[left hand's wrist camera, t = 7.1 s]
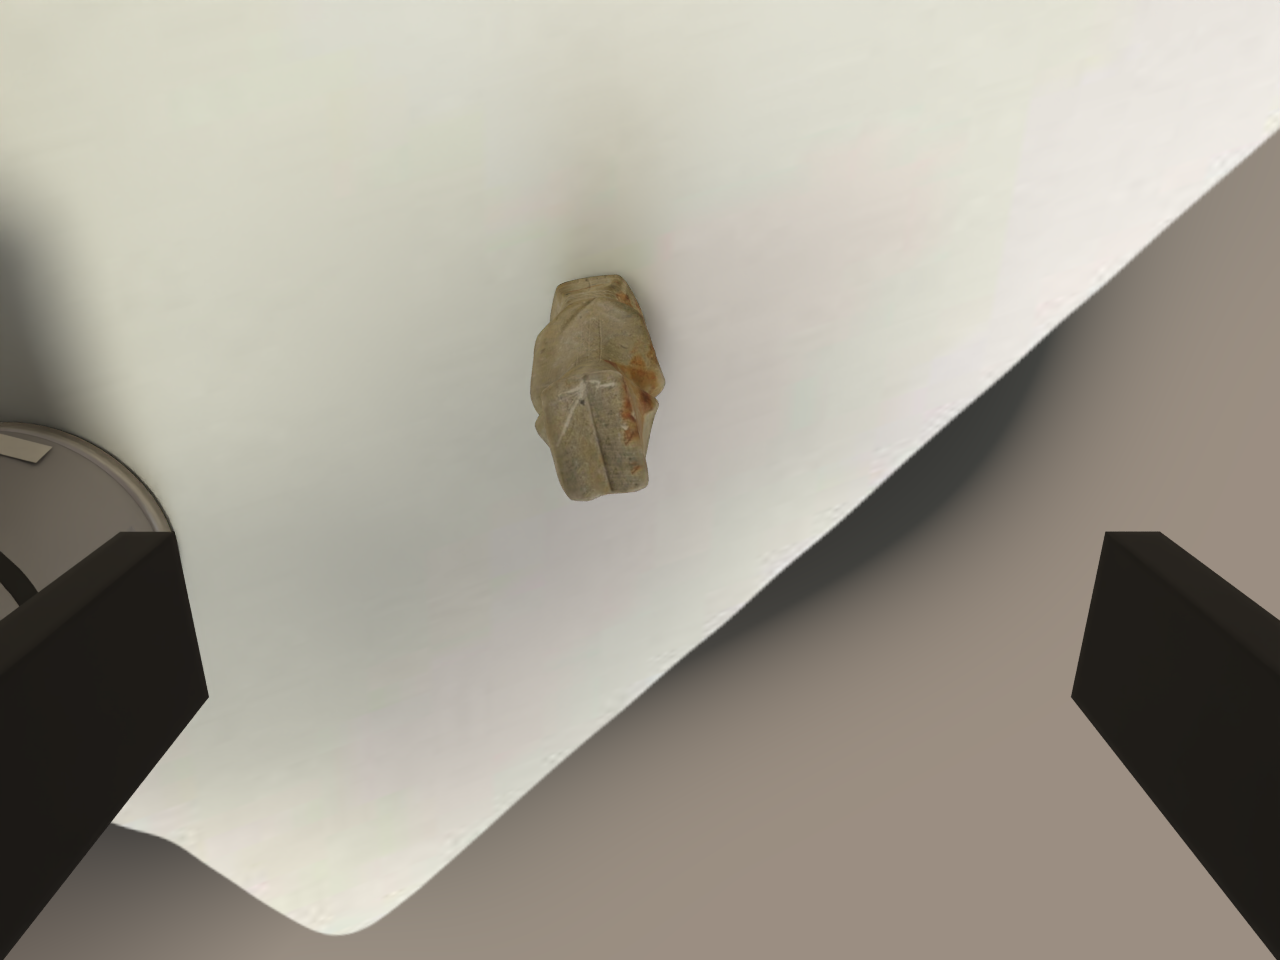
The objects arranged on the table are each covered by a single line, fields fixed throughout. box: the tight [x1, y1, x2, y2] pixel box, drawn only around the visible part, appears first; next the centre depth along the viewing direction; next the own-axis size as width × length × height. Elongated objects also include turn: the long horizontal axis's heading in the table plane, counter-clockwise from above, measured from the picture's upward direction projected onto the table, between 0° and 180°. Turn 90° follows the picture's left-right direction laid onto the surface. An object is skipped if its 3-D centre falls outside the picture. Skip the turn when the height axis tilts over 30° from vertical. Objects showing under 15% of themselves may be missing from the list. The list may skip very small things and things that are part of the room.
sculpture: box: [530, 275, 665, 501], centre depth 39 cm, size 6×7×15 cm
